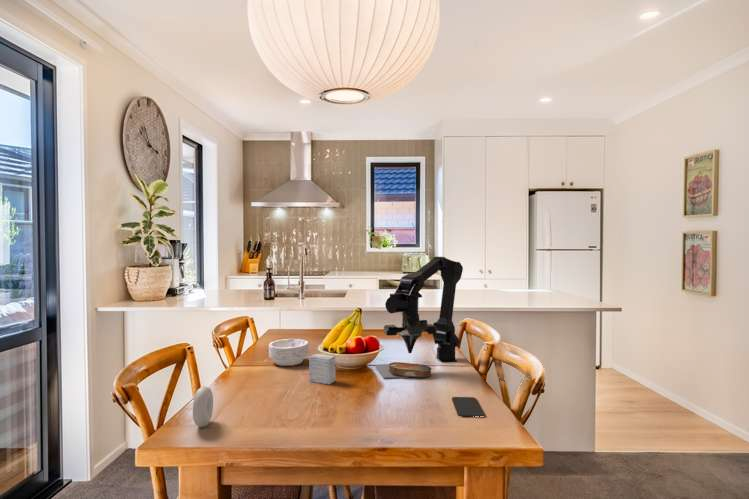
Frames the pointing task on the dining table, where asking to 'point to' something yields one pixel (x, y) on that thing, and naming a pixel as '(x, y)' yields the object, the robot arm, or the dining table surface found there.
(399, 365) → the tin
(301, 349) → the marble bowl
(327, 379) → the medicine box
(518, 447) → the dining table surface
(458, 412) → the phone
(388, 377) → the tin mat
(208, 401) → the grey marbled disc
